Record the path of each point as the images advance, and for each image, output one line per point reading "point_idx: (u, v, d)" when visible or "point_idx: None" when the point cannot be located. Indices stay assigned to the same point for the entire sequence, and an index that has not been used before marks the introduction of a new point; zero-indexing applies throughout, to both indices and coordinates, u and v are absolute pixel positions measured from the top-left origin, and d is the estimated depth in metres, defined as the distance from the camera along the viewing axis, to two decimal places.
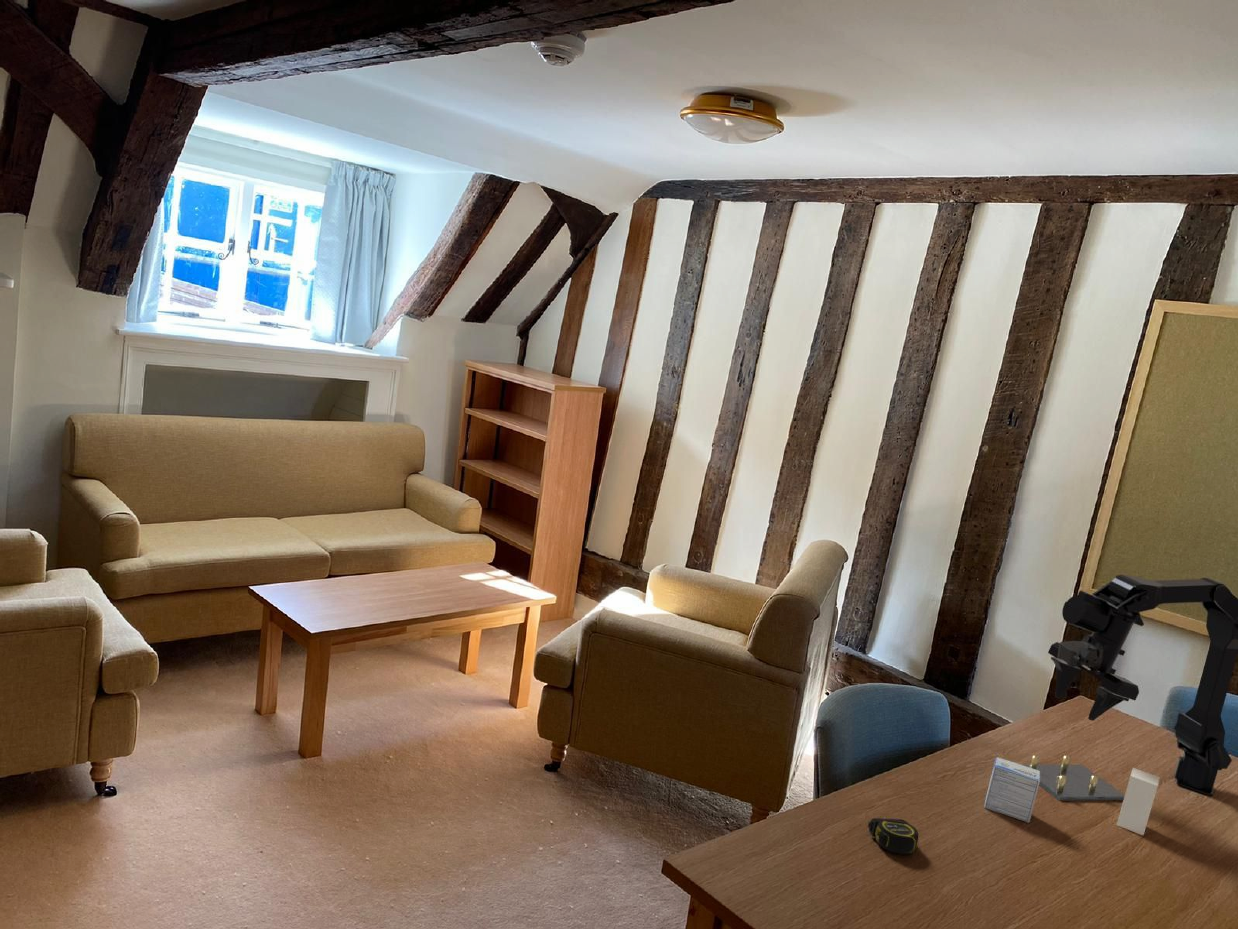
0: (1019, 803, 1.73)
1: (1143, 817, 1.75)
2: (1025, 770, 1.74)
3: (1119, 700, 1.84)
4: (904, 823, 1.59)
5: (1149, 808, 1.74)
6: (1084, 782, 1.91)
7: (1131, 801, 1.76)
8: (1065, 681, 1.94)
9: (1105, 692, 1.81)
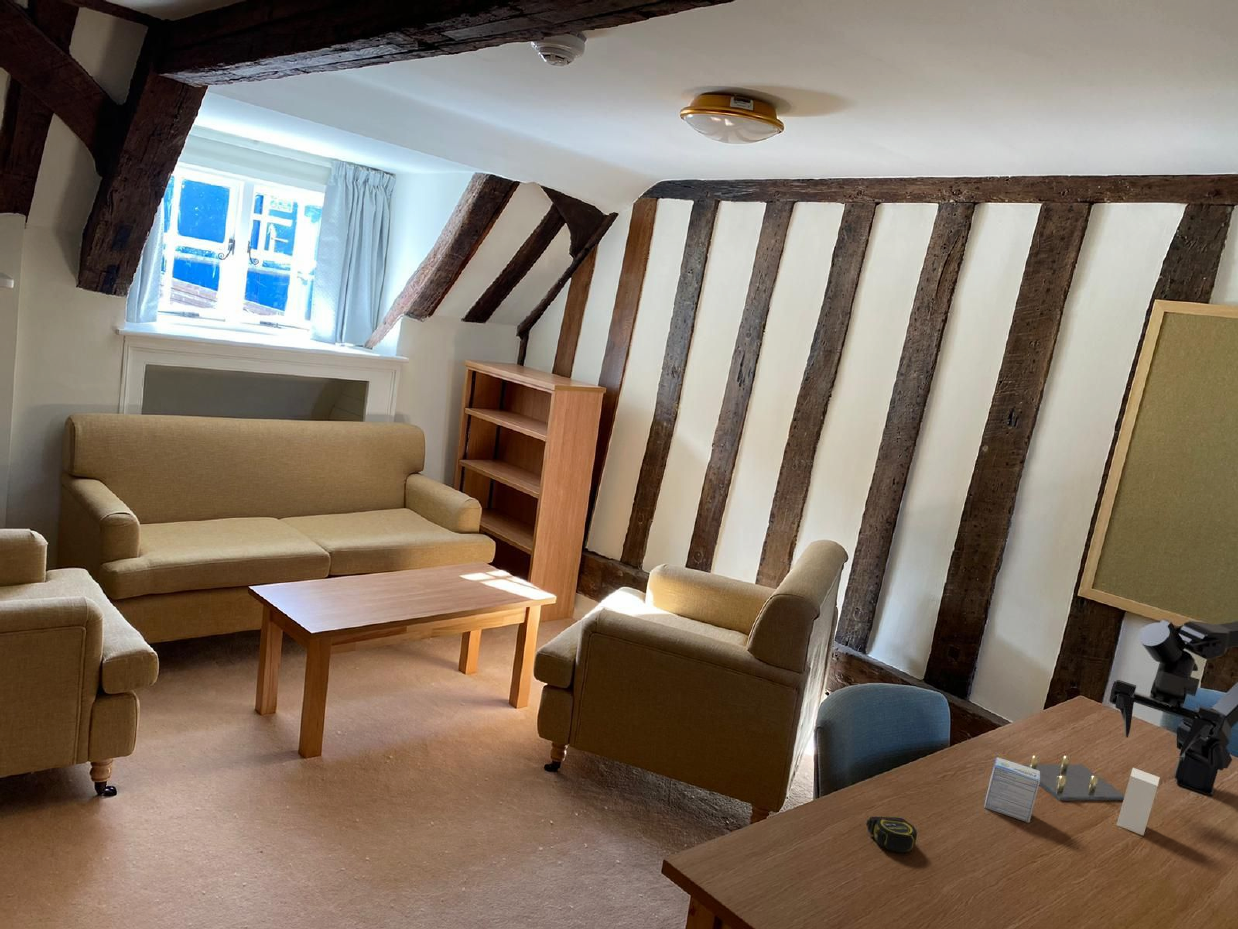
0: (1019, 803, 1.73)
1: (1143, 817, 1.75)
2: (1025, 770, 1.74)
3: (1197, 737, 1.83)
4: (902, 821, 1.59)
5: (1149, 808, 1.74)
6: (1084, 782, 1.91)
7: (1131, 801, 1.76)
8: None
9: (1207, 723, 1.80)
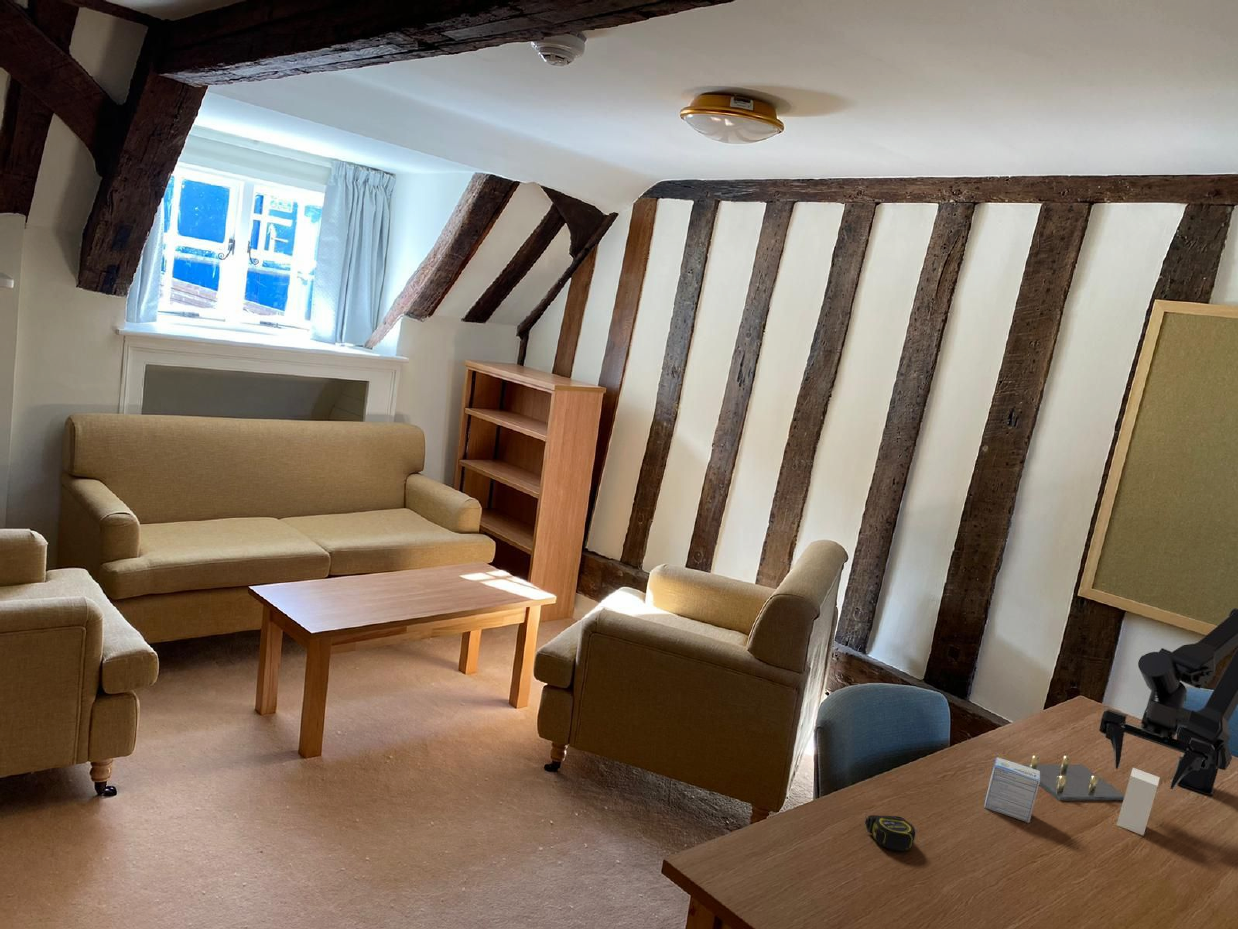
0: (1019, 803, 1.73)
1: (1143, 817, 1.75)
2: (1025, 770, 1.74)
3: (1189, 769, 1.79)
4: (901, 820, 1.60)
5: (1149, 808, 1.74)
6: (1084, 782, 1.91)
7: (1131, 801, 1.76)
8: None
9: (1199, 756, 1.75)
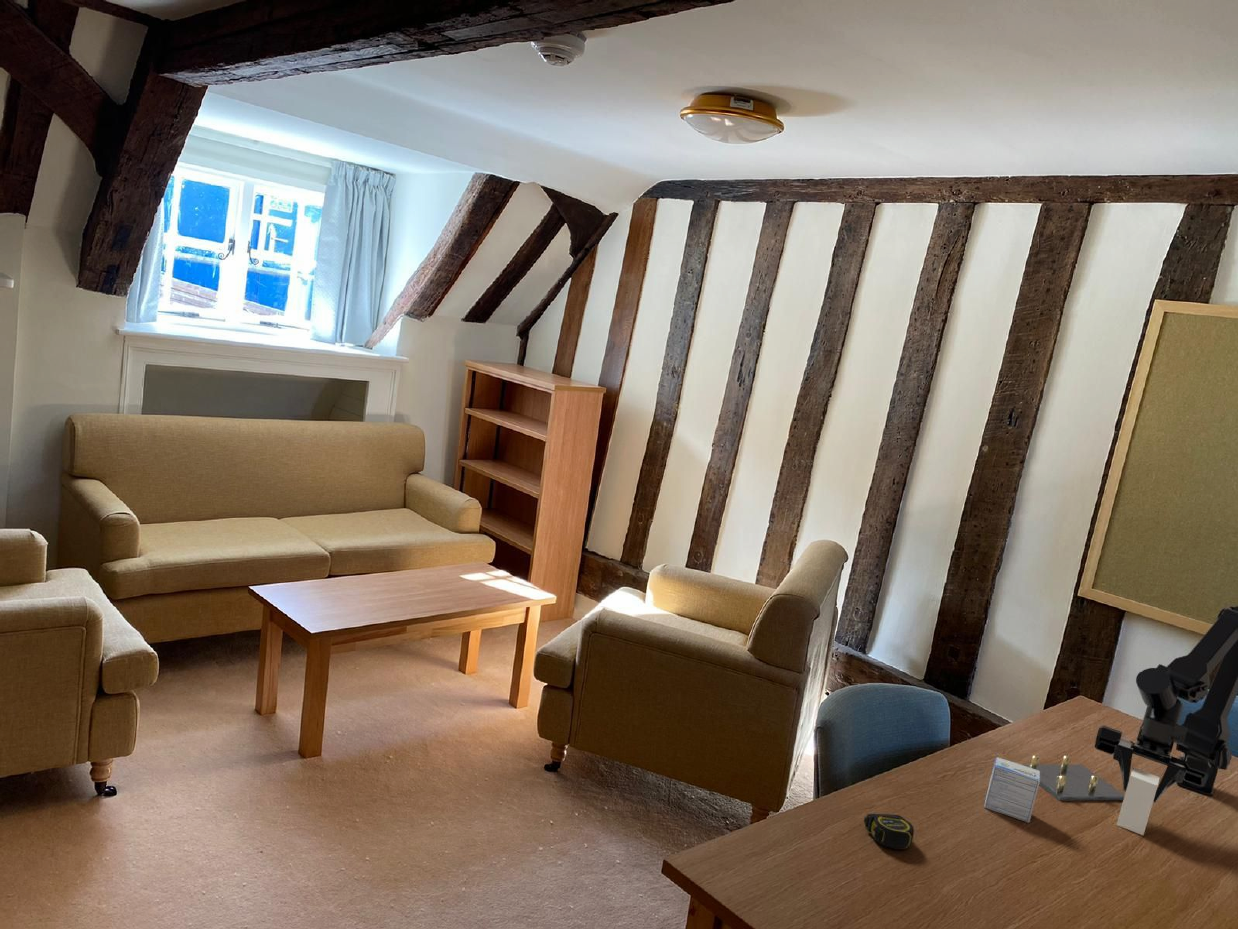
0: (1019, 803, 1.73)
1: (1143, 817, 1.75)
2: (1025, 770, 1.74)
3: (1172, 782, 1.78)
4: (900, 818, 1.60)
5: (1149, 808, 1.74)
6: (1084, 782, 1.91)
7: (1131, 801, 1.76)
8: None
9: (1182, 769, 1.74)
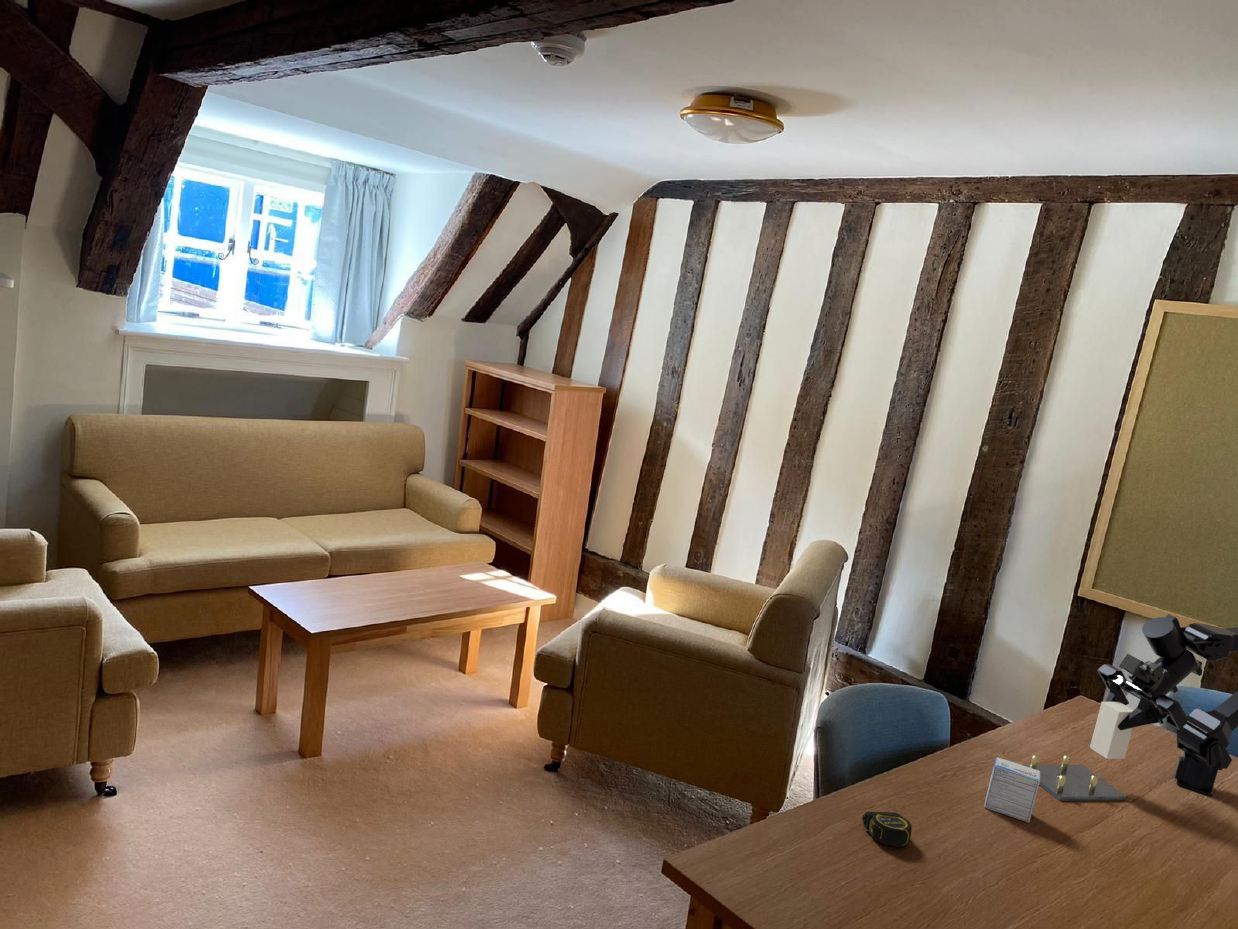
0: (1019, 803, 1.73)
1: (1107, 741, 1.89)
2: (1025, 770, 1.74)
3: (1153, 721, 1.88)
4: (898, 816, 1.61)
5: (1112, 733, 1.89)
6: (1084, 782, 1.91)
7: (1100, 725, 1.91)
8: None
9: (1149, 703, 1.85)
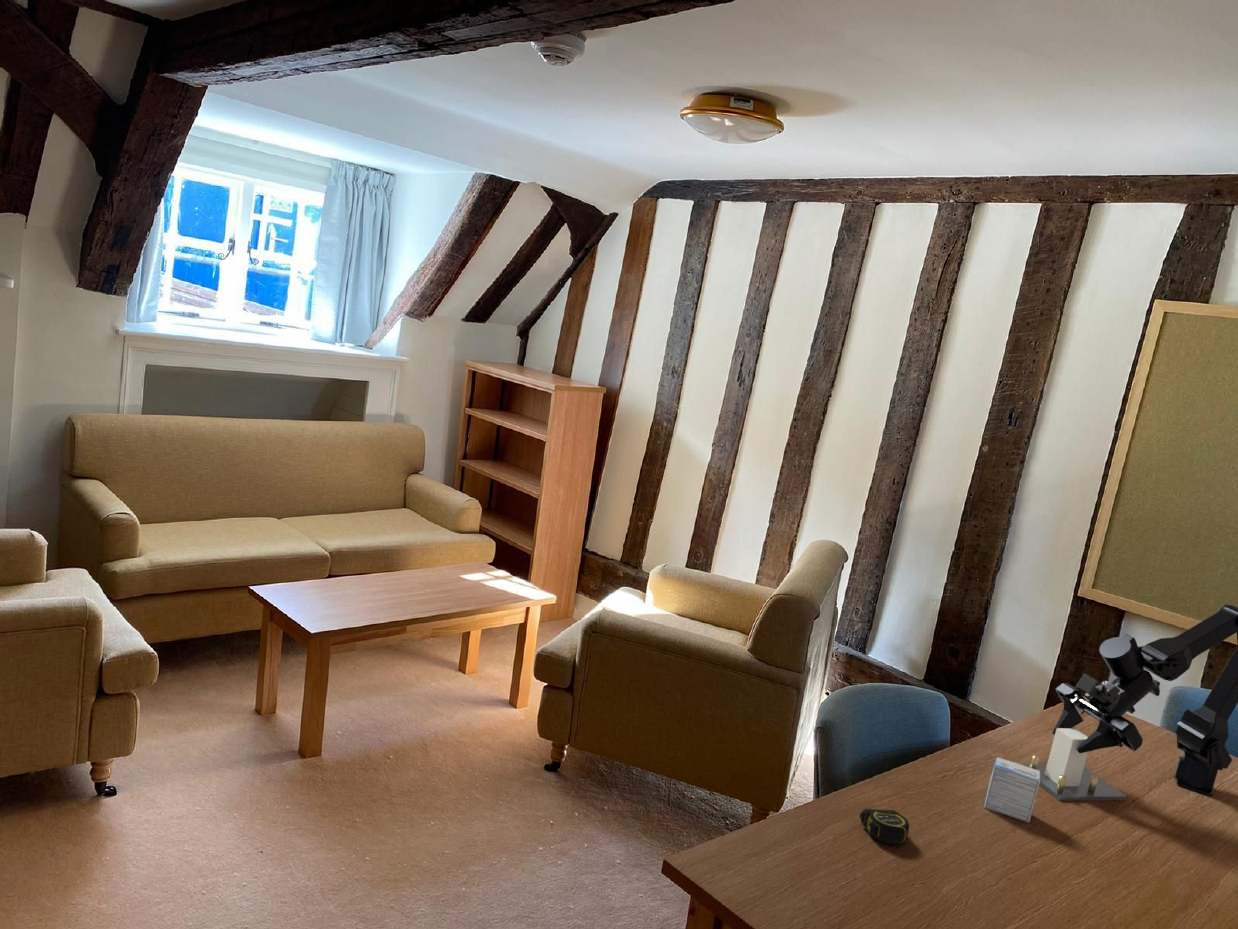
0: (1019, 803, 1.73)
1: (1062, 768, 1.88)
2: (1025, 770, 1.74)
3: (1112, 744, 1.85)
4: (895, 814, 1.61)
5: (1066, 760, 1.87)
6: (1084, 782, 1.91)
7: (1055, 752, 1.90)
8: (1067, 722, 1.92)
9: (1108, 726, 1.83)
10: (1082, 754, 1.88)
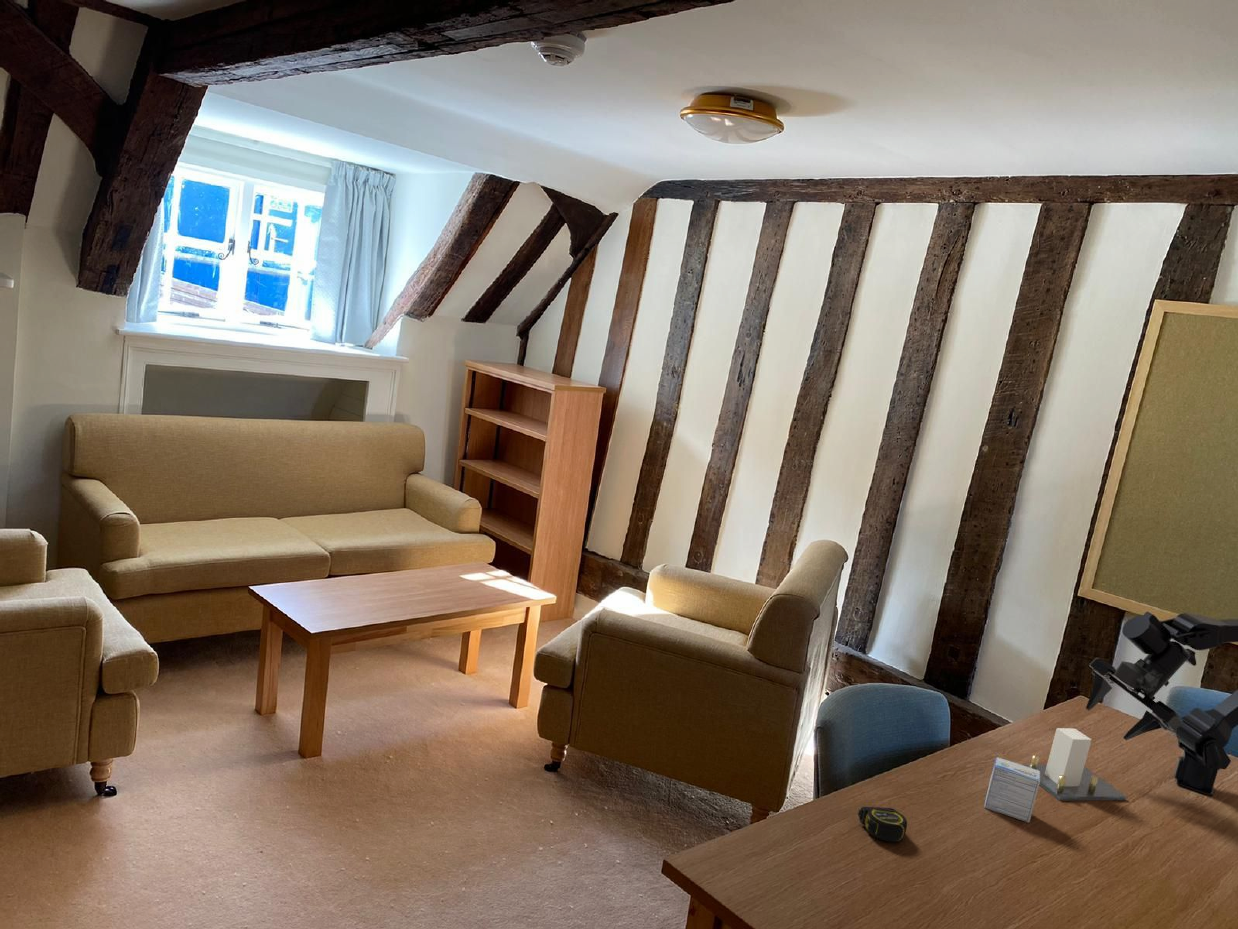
0: (1019, 803, 1.73)
1: (1062, 768, 1.88)
2: (1025, 770, 1.74)
3: (1156, 727, 1.91)
4: (893, 811, 1.62)
5: (1066, 760, 1.87)
6: (1084, 782, 1.91)
7: (1055, 752, 1.90)
8: (1099, 695, 1.99)
9: (1155, 718, 1.87)
10: (1082, 754, 1.88)
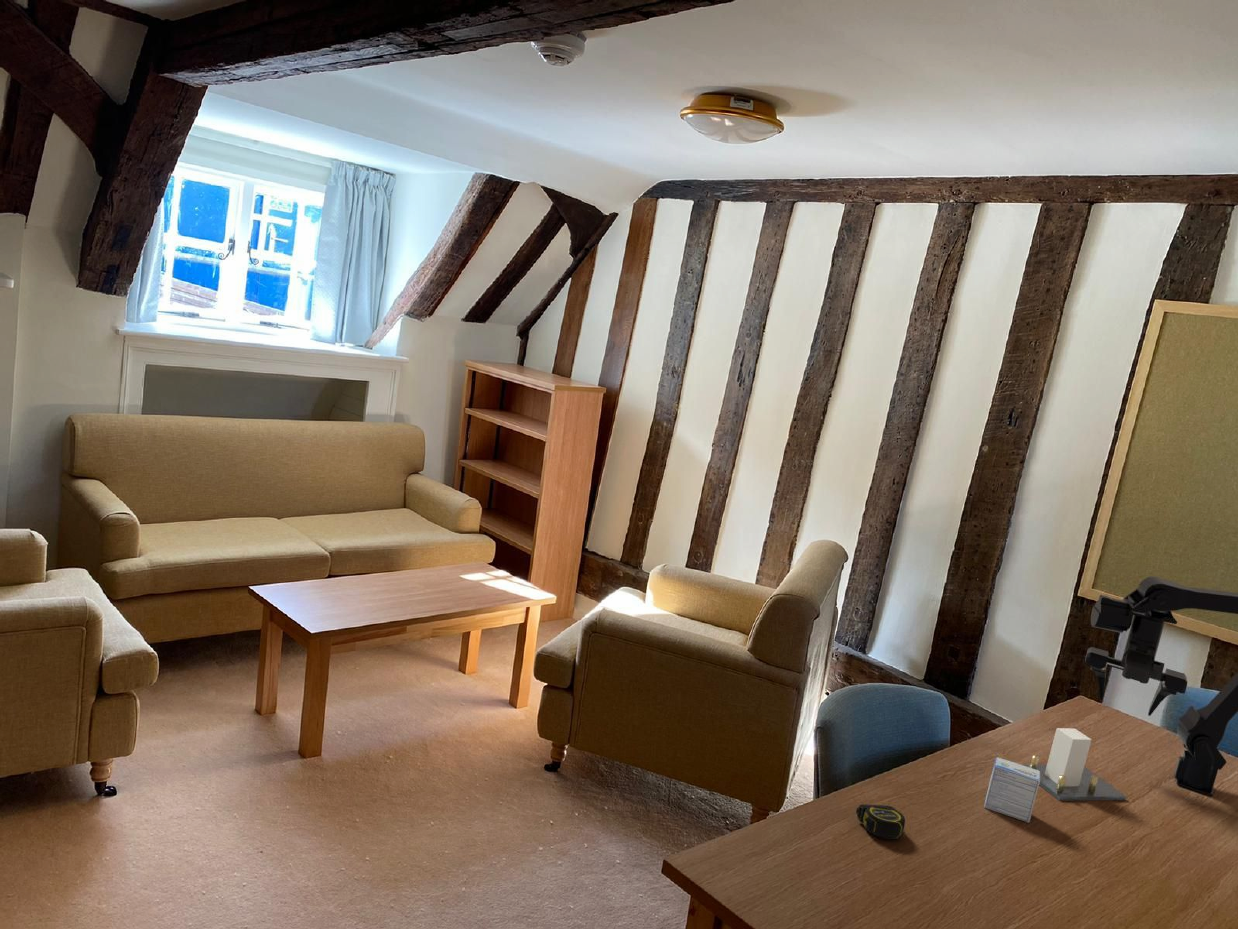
0: (1019, 803, 1.73)
1: (1062, 768, 1.88)
2: (1025, 770, 1.74)
3: None
4: (891, 809, 1.63)
5: (1066, 760, 1.87)
6: (1084, 782, 1.91)
7: (1055, 752, 1.90)
8: None
9: (1172, 693, 1.94)
10: (1082, 754, 1.88)
